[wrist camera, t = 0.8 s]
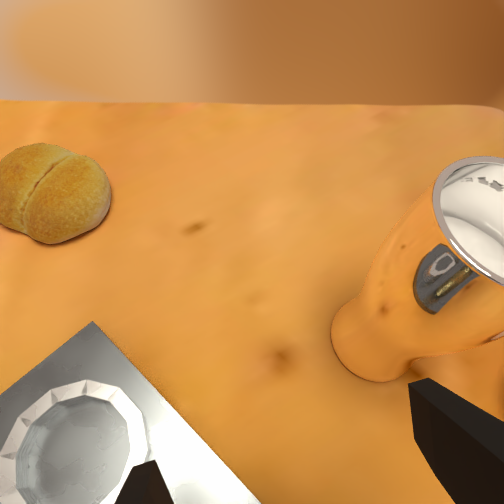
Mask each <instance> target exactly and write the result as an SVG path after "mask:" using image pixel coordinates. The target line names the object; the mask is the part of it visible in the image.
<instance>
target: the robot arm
mask: <svg viewBox="0 0 504 504" xmlns="http://www.w3.org/2000/svg"><path fill="white" fill-rule="evenodd" d="M408 388H409V397H410V406H411V414H412V423H413V432H414V439H415V441H416V443H417V445H418V446H419V448H420V450H421V452H422V454H423V455H424V457H425V459H426V461H427V462H428V464H429V466H430V467H431V469H432V471H433V472H434V474H435V476H436V477H437V479H438V480H439V481H440V483H441V484H442V486H443V487H444V488H445V490H446V491H447V492H448V494H449V495H450V497H451V498H452V499H453V501H454V502H455V504H504V422H503V421H501V420H499V419H497V418H496V417H494V416H492V415H490V414H489V413H487V412H485V411H484V410H482V409H480V408H478V407H477V406H475V405H473V404H472V403H470V402H468V401H467V400H465V399H463V398H462V397H460V396H458V395H457V394H455V393H453V392H452V391H450V390H448V389H447V388H445V387H443V386H442V385H440V384H438V383H437V382H435V381H433V380H432V379H430V378H426V379H422V380H419V381H416V382H412V383H409V384H408ZM114 504H174V502H173V499H172V497H171V495H170V492H169V490H168V488H167V485H166V483H165V481H164V478H163V476H162V474H161V471H160V469H159V467H158V464H157V462H156V460H151V461H148V462H145V463H141V464H138V465H135V466H133V467H132V469H131V470H130V472H129V474H128V476H127V478H126V480H125V482H124V484H123V486H122V488H121V490H120V492H119V494H118V496H117V498H116V500H115V502H114Z"/></svg>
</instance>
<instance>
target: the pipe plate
mask: <svg viewBox="0 0 504 504" xmlns="http://www.w3.org/2000/svg"><path fill="white" fill-rule="evenodd" d="M151 460H156V462H157V464H158V467H159V469H160V471H161V474H162V476H163V478H164V481H165V483H166V485H167V488H168V490H169V492H170V495H171V497H172V499H173V502H174V504H261V503H260V502H259V501H258V500H257V499H256V497H255V496H254V495H253V494H252V493H251V492H250V491H249V490H248V489H247V488H246V487H245V486H244V484H243V483H242V482H241V481H240V480H239V479H238V478H237V477H236V476H235V475H234V474H233V473H232V471H231V470H230V469H229V468H228V467H227V466H226V465H225V464H224V463H223V462H222V461H221V460H220V458H219V457H218V456H217V455H216V454H215V453H214V452H213V451H212V450H211V449H210V448H209V447H208V445H207V444H206V443H205V442H204V441H203V440H202V439H201V438H200V437H199V436H198V435H197V434H196V432H195V431H194V430H193V429H192V428H191V427H190V426H189V425H188V424H187V423H186V422H185V421H184V419H183V418H182V417H181V416H180V415H179V414H178V413H177V412H176V411H175V410H174V409H173V408H172V406H171V405H170V404H169V403H168V402H167V401H166V400H165V399H164V398H163V397H162V396H161V395H160V393H159V392H158V391H157V390H156V389H155V388H154V387H153V386H152V385H151V384H150V383H149V382H148V380H147V379H146V378H145V377H144V376H143V375H142V374H141V373H140V372H139V371H138V370H137V369H136V367H135V366H134V365H133V364H132V363H131V362H130V361H129V360H128V359H127V358H126V357H125V356H124V354H123V353H122V352H121V351H120V350H119V349H118V348H117V347H116V346H115V345H114V344H113V343H112V341H111V340H110V339H109V338H108V337H107V336H106V335H105V334H104V333H103V332H102V331H101V330H100V328H99V327H98V326H97V325H96V324H95V323H94V322H93V321H92V322H91V323H89V324H88V325H87V326H86V327H84V328H83V329H82V330H81V331H79V332H78V333H77V334H76V335H74V336H73V337H72V338H71V339H69V340H68V341H67V342H66V343H64V344H63V345H62V346H61V347H59V348H58V349H57V350H56V351H54V352H53V353H52V354H51V355H49V356H48V357H47V358H46V359H45V360H43V361H42V362H41V363H40V364H38V365H37V366H36V367H35V368H33V369H32V370H31V371H30V372H28V373H27V374H26V375H25V376H23V377H22V378H21V379H20V380H18V381H17V382H16V383H15V384H13V385H12V386H11V387H10V388H8V389H7V390H6V391H5V392H3V393H2V394H1V395H0V504H114V502H115V500H116V498H117V496H118V494H119V492H120V490H121V488H122V486H123V484H124V482H125V480H126V478H127V476H128V474H129V472H130V470H131V469H132V467H133V466H135V465H138V464H141V463H145V462H148V461H151Z"/></svg>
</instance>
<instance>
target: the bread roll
mask: <svg viewBox="0 0 504 504" xmlns="http://www.w3.org/2000/svg"><path fill="white" fill-rule="evenodd" d="M110 200H111V187H110V183H109V180H108V177H107V175H106V173H105V172H104V170H103V169H102V168H101V167H100V165H99V164H98V163H97V162H96V161H95V160H93V159H91V158H90V157H87V156H83V155H78V154H76V153H73V152H71V151H69V150H66V149H65V148H62V147H59V146H57V145H50V144H45V143H38V144H32V145H28V146H23V147H20V148H17V149H15V150H14V151H12V152H11V153H9V154H8V155H6V156H5V157H4V158H3V159H2V160H1V161H0V223H1V224H2V225H4V226H6V227H9V228H11V229H14V230H17V231H20V232H22V233H25V234H27V235H29V236H30V237H31V238H33V239H35V240H37V241H40V242H43V243H47V244H55V243H60V242H63V241H66V240H68V239H71V238H73V237H75V236H77V235H80V234H82V233H84V232H86V231H89V230H91V229H93V228H95V227H96V226H98V225H99V224H100V222H101V221H102V220H103V219H104V217H105V215H106V214H107V212H108V209H109V207H110Z"/></svg>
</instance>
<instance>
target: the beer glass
mask: <svg viewBox="0 0 504 504" xmlns="http://www.w3.org/2000/svg"><path fill="white" fill-rule="evenodd" d="M503 337H504V158H499V157H491V156H475V157H469V158H464V159H461V160H458V161H456V162H454V163H452V164H450V165H449V166H447V167H446V168H445V169H444V170H443V171H442V172H441V173H440V174H439V176H438V177H437V179H436V180H435V181H434V182H433V183H432V184H431V185H430V186H429V187H428V188H427V189H426V190H425V191H424V192H423V194H422V195H421V196H420V197H419V198H418V199H417V200H416V201H415V202H414V203H413V204H412V205H411V206H410V207H409V209H408V210H407V211H406V212H405V213H404V214H403V216H402V217H401V218H400V219H399V220H398V222H397V223H396V224H395V225H394V227H393V228H392V229H391V231H390V232H389V234H388V235H387V237H386V238H385V240H384V241H383V243H382V244H381V246H380V247H379V249H378V252H377V254H376V256H375V258H374V260H373V262H372V264H371V266H370V269H369V271H368V274H367V276H366V279H365V282H364V285H363V287H362V290H361V292H360V295H359V296H358V297H356V298H355V299H353V300H351V301H349V302H348V303H346V304H345V305H343V306H342V307H341V308H340V309H339V311H338V312H337V313H336V315H335V317H334V319H333V322H332V326H331V340H332V345H333V348H334V350H335V352H336V354H337V356H338V358H339V359H340V361H341V362H342V363H343V364H344V366H345V367H346V368H347V369H348V370H350V371H351V372H352V373H354V374H355V375H357V376H359V377H361V378H363V379H365V380H369V381H373V382H387V381H391V380H394V379H396V378H398V377H400V376H402V375H403V374H404V373H405V372H406V371H407V370H408V369H409V368H410V367H411V366H412V365H413V364H414V362H415V361H416V360H418V359H422V358H427V357H433V356H440V355H445V354H451V353H457V352H461V351H465V350H469V349H473V348H476V347H480V346H483V345H486V344H488V343H490V342H493V341H495V340H498V339H500V338H503Z"/></svg>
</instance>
